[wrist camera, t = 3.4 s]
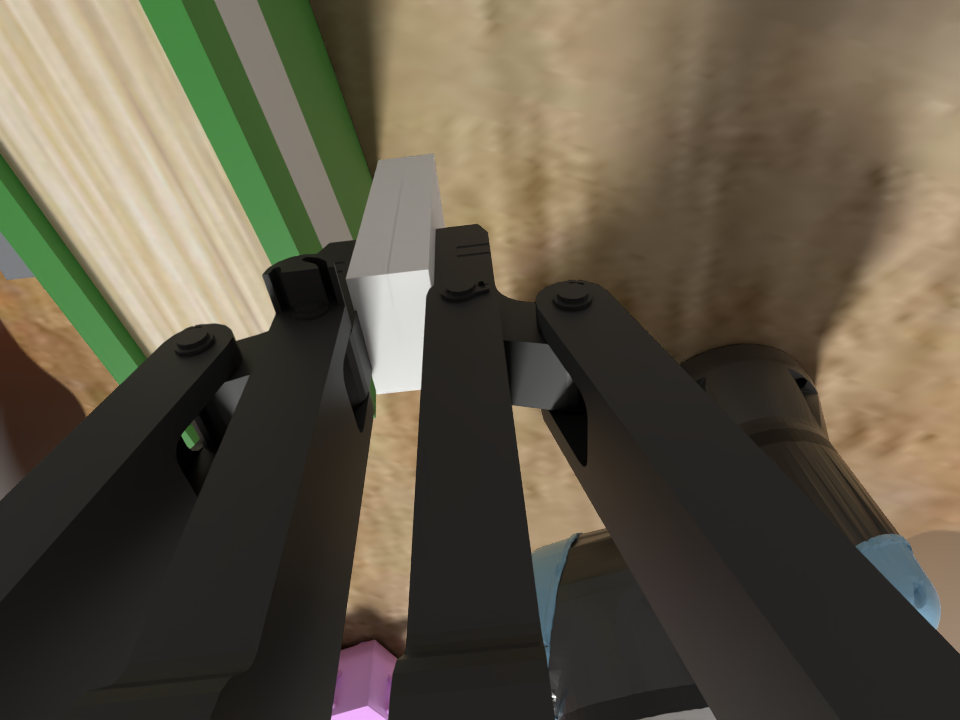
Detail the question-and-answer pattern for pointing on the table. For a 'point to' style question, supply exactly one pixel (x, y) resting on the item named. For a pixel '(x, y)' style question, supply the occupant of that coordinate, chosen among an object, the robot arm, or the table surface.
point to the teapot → (363, 682)
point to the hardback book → (170, 161)
